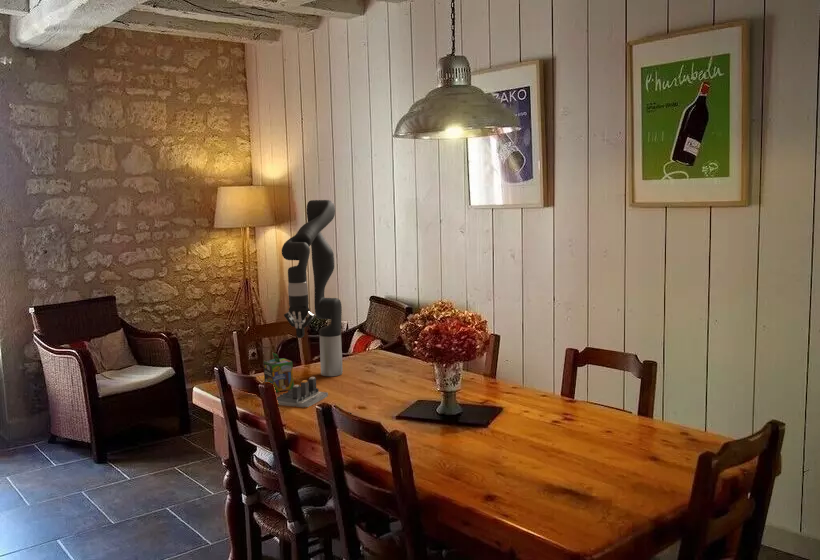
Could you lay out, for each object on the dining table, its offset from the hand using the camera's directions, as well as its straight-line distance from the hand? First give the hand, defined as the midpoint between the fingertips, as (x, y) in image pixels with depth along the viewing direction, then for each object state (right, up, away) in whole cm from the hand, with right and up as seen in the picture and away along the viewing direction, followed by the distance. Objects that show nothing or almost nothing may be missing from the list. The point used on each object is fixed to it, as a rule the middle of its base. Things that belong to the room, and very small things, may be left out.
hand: (300, 337), depth 289 cm
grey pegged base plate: (+1, -23, -6) cm, 24 cm away
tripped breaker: (+3, -22, -7) cm, 23 cm away
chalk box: (-10, -22, +11) cm, 26 cm away
